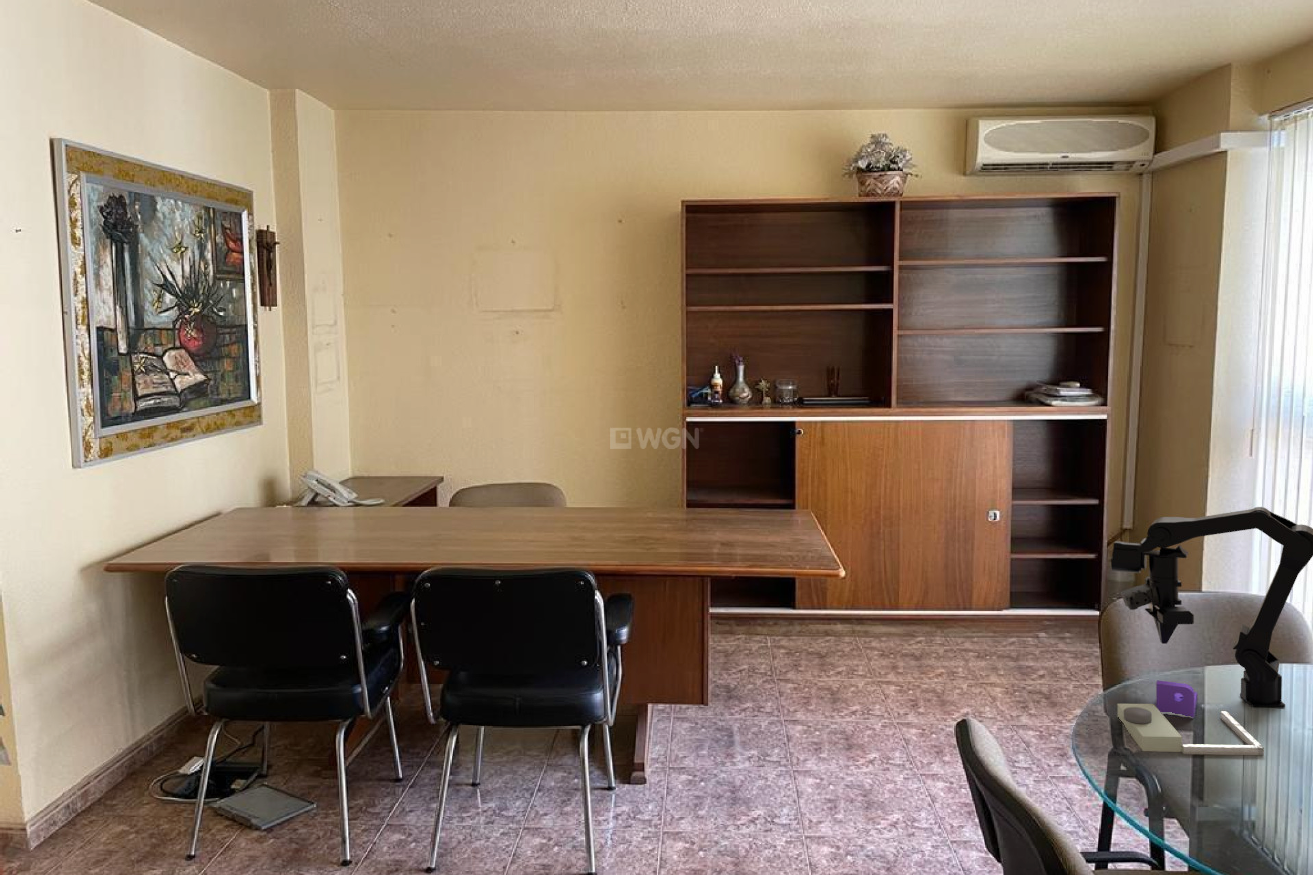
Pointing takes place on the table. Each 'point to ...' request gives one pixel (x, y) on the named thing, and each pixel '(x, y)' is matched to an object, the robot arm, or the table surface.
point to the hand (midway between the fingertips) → (1163, 643)
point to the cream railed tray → (1162, 736)
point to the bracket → (1175, 698)
